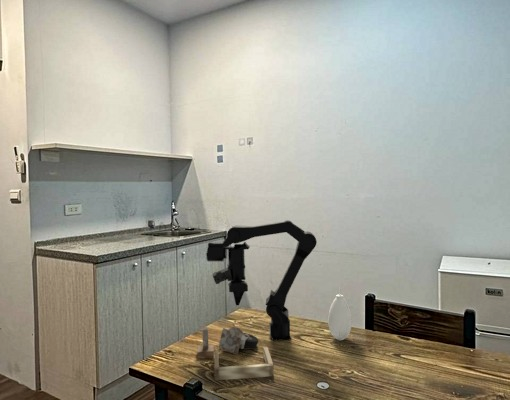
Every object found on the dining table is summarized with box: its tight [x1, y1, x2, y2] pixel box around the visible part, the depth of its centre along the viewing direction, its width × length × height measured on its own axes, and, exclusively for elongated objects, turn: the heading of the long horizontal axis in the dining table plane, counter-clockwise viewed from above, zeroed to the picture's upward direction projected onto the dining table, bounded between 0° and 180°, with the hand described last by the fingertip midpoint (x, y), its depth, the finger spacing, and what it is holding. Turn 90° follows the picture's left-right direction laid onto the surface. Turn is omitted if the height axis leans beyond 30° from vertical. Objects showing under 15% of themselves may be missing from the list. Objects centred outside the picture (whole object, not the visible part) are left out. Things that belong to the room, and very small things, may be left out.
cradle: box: [213, 346, 275, 381], centre depth 106 cm, size 16×12×3 cm
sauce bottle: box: [327, 287, 353, 341], centre depth 125 cm, size 8×8×18 cm
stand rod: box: [196, 327, 215, 359], centre depth 115 cm, size 5×5×8 cm
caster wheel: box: [217, 327, 259, 355], centre depth 119 cm, size 7×11×10 cm
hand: (237, 305), depth 129 cm, fingers closed
